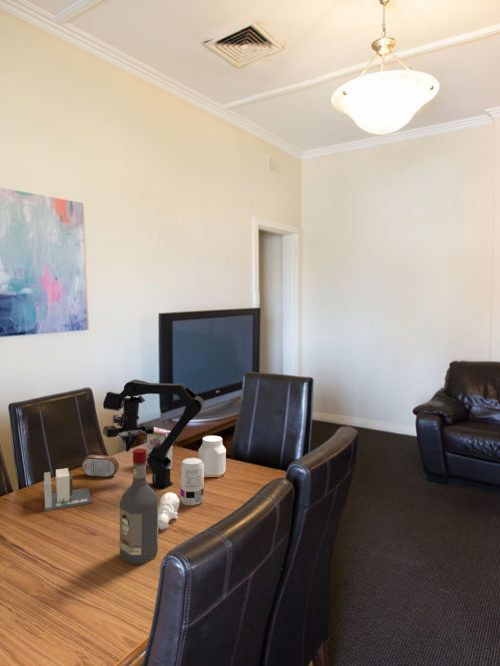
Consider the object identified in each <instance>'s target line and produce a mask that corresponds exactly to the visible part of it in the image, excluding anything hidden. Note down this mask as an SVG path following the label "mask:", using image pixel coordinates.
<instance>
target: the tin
mask: <svg viewBox="0 0 500 666" xmlns="http://www.w3.org/2000/svg"><path fill="white" fill-rule="evenodd" d="M119 468H120V464H119V461H118V460H117V458H115V457H114V456H111V455H99V454H98V455H97V454H90V455H87V456H86V457H85V458H84V459H83V460H82V462H81V470H82V473H84V474H85V475H86V476H88V477H94V476H97V477H98V478H111V477H113V476H115V474H117V473H118V471H119Z"/></svg>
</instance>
